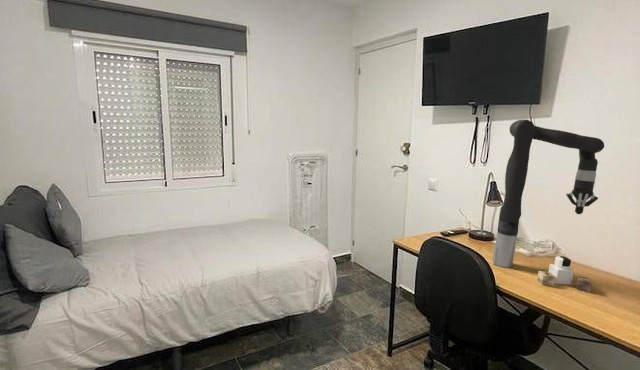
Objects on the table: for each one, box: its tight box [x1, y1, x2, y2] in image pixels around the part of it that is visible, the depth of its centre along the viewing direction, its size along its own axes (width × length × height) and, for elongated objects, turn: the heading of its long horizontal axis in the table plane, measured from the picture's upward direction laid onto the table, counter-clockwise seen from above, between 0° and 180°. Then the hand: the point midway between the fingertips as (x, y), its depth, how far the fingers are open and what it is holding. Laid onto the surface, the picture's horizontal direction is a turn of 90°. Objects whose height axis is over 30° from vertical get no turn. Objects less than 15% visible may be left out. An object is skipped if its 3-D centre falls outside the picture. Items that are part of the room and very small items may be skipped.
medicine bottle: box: [547, 255, 574, 286], centre depth 160 cm, size 7×7×12 cm
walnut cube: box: [575, 275, 593, 294], centre depth 153 cm, size 5×5×5 cm
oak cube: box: [536, 270, 555, 287], centre depth 158 cm, size 5×5×5 cm
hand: (578, 213), depth 166 cm, fingers closed
